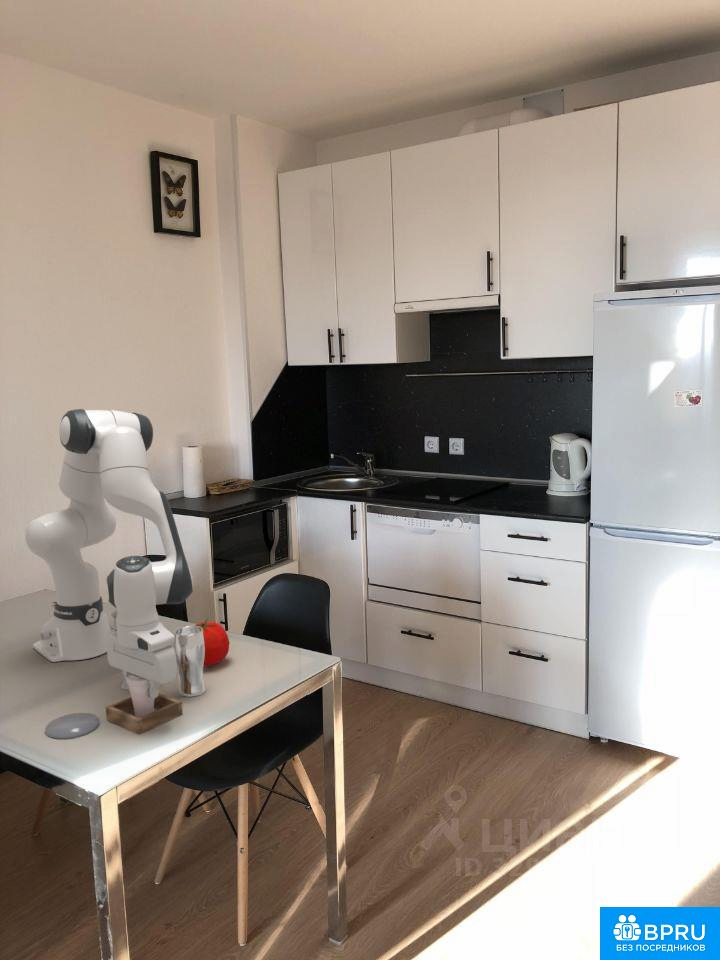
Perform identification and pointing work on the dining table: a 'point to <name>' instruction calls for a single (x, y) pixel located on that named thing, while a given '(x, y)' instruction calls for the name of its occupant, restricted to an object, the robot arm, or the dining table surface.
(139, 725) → the wooden serving tray
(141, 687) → the smoothie
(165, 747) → the dining table surface
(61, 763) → the dining table surface
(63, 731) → the disc
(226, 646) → the tomato
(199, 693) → the beer glass
